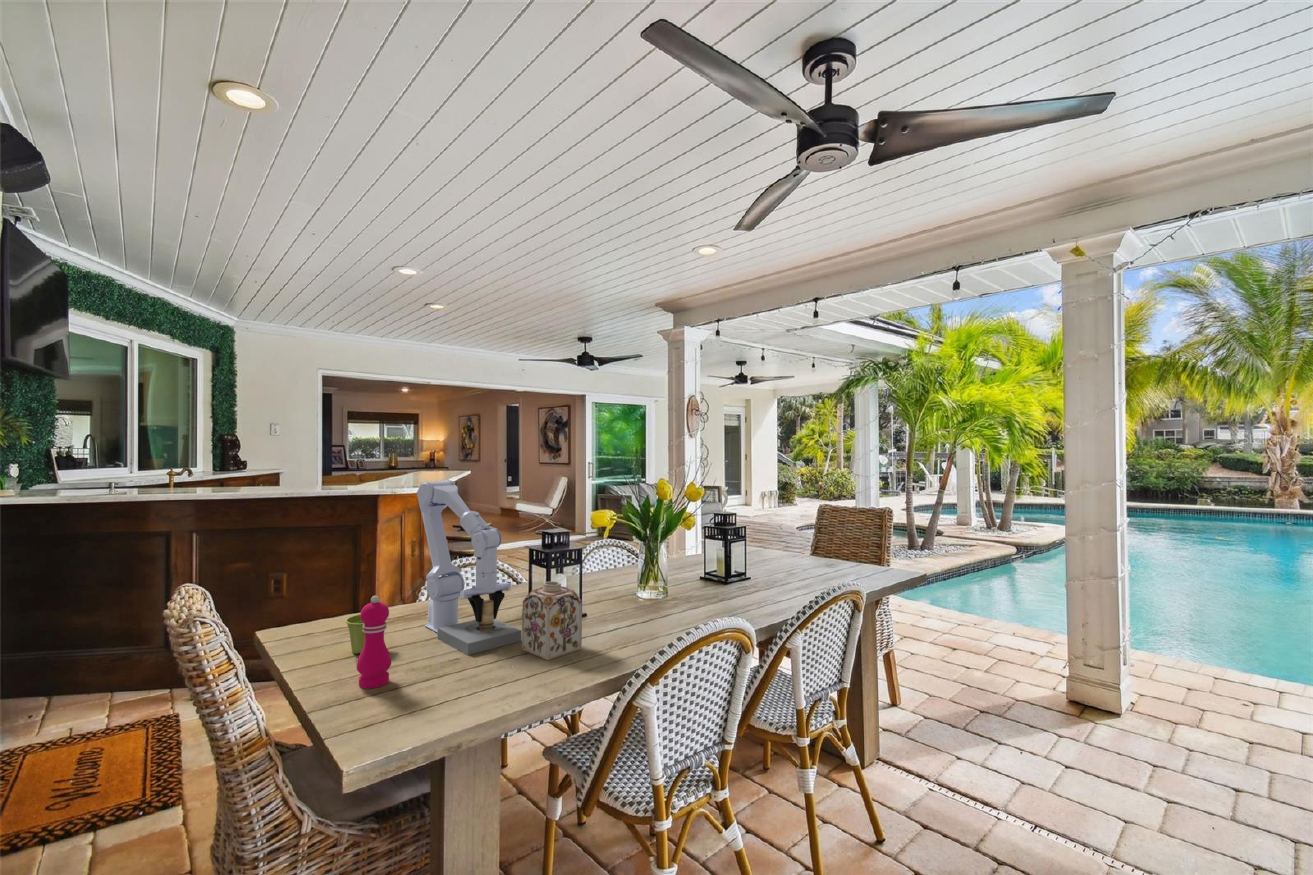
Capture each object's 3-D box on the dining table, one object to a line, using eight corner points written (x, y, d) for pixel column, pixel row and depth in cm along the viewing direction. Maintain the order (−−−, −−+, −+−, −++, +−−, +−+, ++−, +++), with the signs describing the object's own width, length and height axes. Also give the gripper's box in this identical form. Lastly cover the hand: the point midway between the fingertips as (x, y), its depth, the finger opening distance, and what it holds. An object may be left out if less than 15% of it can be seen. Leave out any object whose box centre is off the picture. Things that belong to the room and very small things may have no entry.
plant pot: (390, 650, 157) (390, 617, 157) (353, 659, 150) (353, 625, 150) (376, 642, 163) (376, 610, 163) (339, 650, 156) (340, 618, 156)
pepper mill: (356, 692, 130) (357, 601, 131) (356, 680, 137) (357, 593, 137) (392, 686, 134) (393, 597, 134) (390, 674, 140) (391, 590, 140)
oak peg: (475, 633, 167) (476, 601, 167) (489, 630, 170) (489, 598, 170) (482, 636, 164) (483, 604, 164) (496, 633, 167) (496, 601, 167)
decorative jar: (520, 650, 157) (521, 582, 158) (555, 640, 166) (556, 576, 166) (547, 661, 149) (548, 590, 150) (583, 650, 158) (583, 582, 158)
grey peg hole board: (437, 638, 166) (437, 628, 166) (489, 626, 178) (489, 616, 178) (467, 655, 154) (467, 643, 154) (521, 641, 165) (521, 630, 165)
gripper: (469, 577, 159) (468, 628, 159) (516, 570, 169) (515, 617, 169) (457, 573, 164) (456, 622, 164) (503, 566, 175) (503, 612, 174)
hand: (485, 619), depth 167 cm, fingers closed on oak peg, 4 cm apart
